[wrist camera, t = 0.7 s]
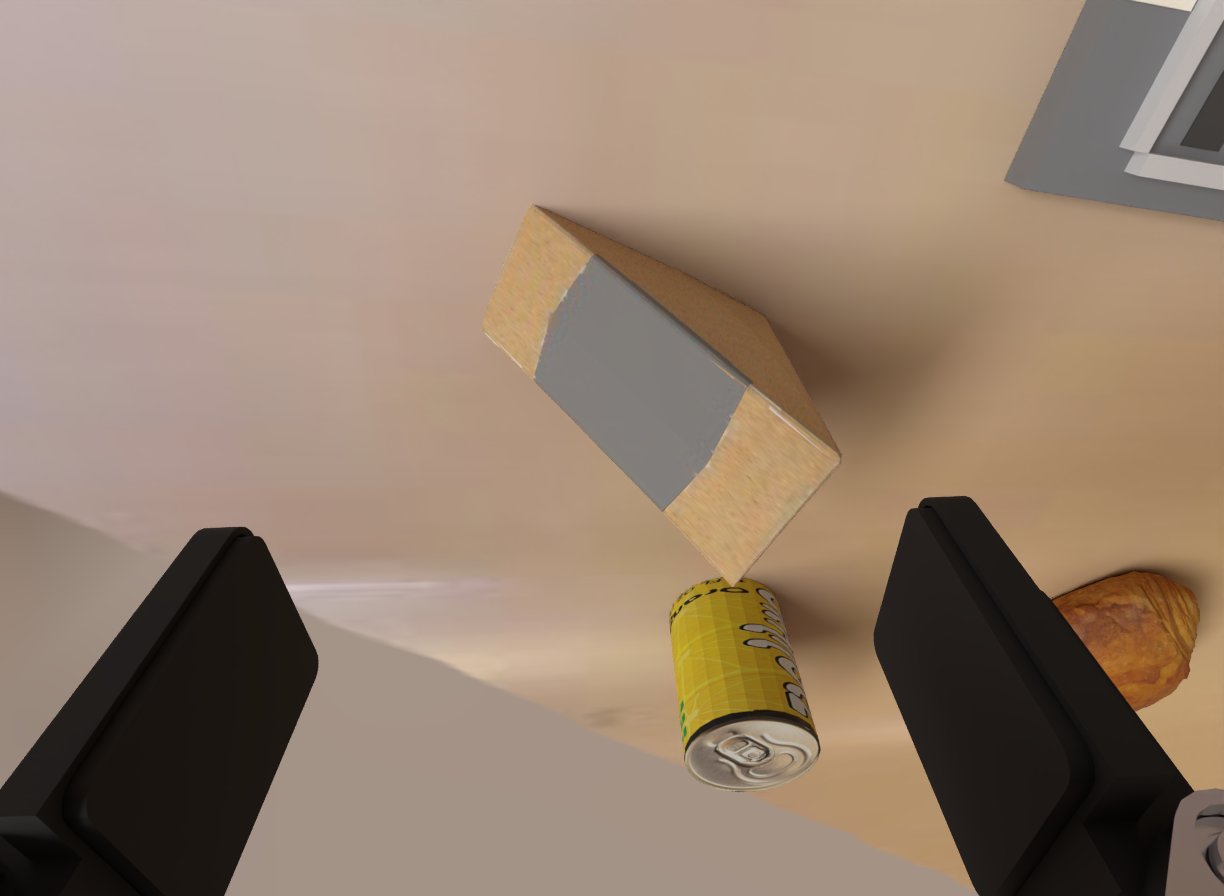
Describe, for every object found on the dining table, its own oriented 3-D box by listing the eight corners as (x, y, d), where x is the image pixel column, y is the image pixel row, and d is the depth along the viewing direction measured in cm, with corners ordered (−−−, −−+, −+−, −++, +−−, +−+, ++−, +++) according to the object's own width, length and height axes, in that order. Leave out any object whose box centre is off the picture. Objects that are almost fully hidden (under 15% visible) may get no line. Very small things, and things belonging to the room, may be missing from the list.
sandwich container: (528, 195, 35) (487, 301, 22) (770, 312, 39) (849, 458, 26) (475, 330, 39) (416, 482, 27) (697, 423, 43) (736, 593, 30)
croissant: (951, 599, 56) (982, 682, 50) (1164, 536, 49) (1231, 623, 43) (1004, 686, 62) (1037, 770, 56) (1199, 642, 55) (1262, 731, 49)
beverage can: (728, 665, 57) (754, 804, 47) (646, 624, 54) (657, 765, 44) (802, 607, 53) (849, 747, 43) (719, 560, 50) (749, 699, 40)
